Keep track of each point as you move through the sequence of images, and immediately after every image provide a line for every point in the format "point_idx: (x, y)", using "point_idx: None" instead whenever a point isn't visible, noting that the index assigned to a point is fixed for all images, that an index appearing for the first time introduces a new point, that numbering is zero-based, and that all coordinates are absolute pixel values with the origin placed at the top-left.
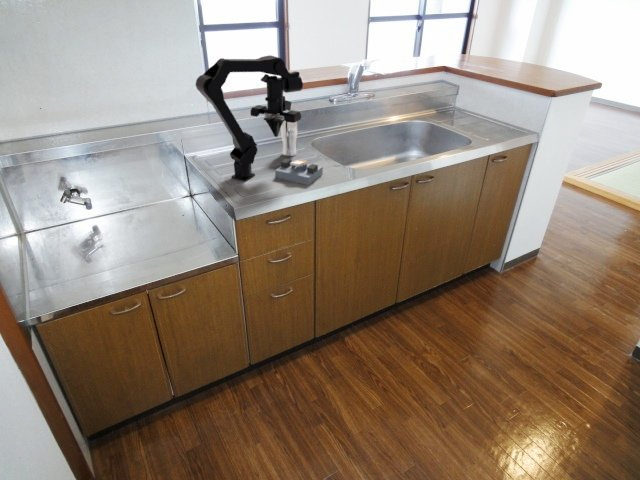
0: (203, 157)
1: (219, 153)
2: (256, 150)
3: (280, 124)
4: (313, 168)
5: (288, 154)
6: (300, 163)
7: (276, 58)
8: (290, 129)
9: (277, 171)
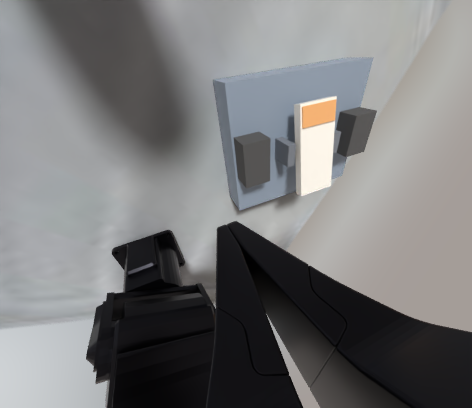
0: None
1: None
2: (211, 310)
3: (353, 316)
4: (364, 147)
5: None
6: (330, 167)
7: None
8: None
9: (247, 206)
